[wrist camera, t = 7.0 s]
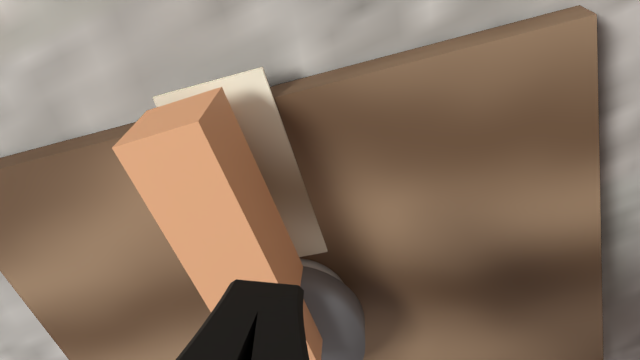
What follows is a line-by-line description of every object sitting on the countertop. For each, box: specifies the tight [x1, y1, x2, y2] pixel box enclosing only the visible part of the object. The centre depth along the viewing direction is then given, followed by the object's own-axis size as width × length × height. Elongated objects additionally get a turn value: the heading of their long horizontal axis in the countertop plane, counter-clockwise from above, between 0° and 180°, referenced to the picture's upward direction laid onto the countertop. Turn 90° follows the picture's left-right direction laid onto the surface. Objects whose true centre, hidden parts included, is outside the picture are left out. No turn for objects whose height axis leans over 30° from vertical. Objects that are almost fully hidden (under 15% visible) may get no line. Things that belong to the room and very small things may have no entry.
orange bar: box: [112, 87, 365, 360], centre depth 16 cm, size 12×5×2 cm, turn 19°
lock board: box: [0, 5, 603, 360], centre depth 19 cm, size 17×22×2 cm
